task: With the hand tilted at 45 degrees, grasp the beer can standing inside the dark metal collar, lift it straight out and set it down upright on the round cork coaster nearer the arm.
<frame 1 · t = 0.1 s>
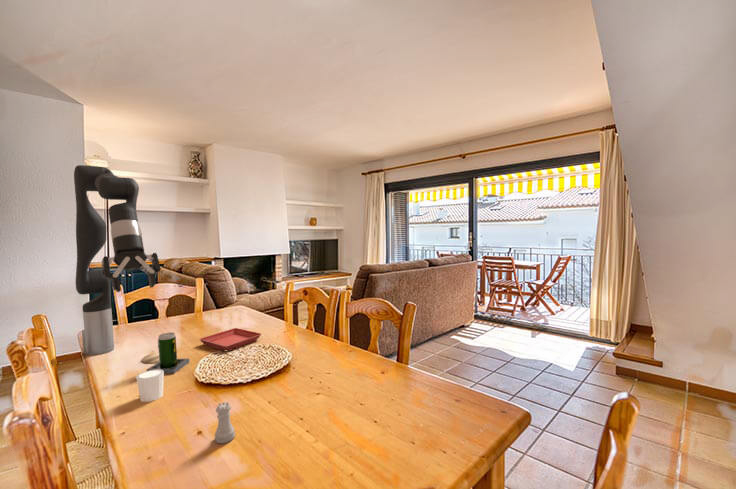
hand: (135, 289, 104), 31 cm above the table, tool tilted 20°, fingers open, 8 cm apart
coaster: (159, 357, 134), on the table
plant saucer: (231, 344, 149), on the table
white tapered cylinder: (151, 397, 103), on the table
collar: (168, 368, 124), on the table
rook chess piece: (225, 439, 81), on the table
beer can: (168, 368, 124), resting in collar
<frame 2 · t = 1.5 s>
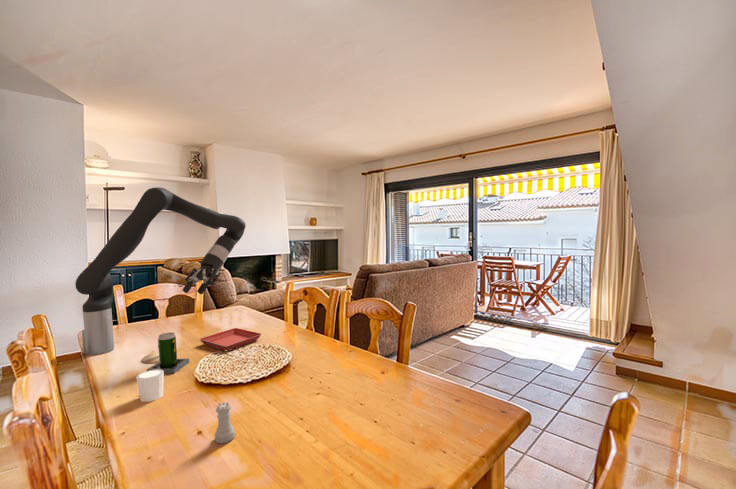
hand: (191, 292, 132), 25 cm above the table, tool tilted 45°, fingers open, 8 cm apart
nothing on the table moved.
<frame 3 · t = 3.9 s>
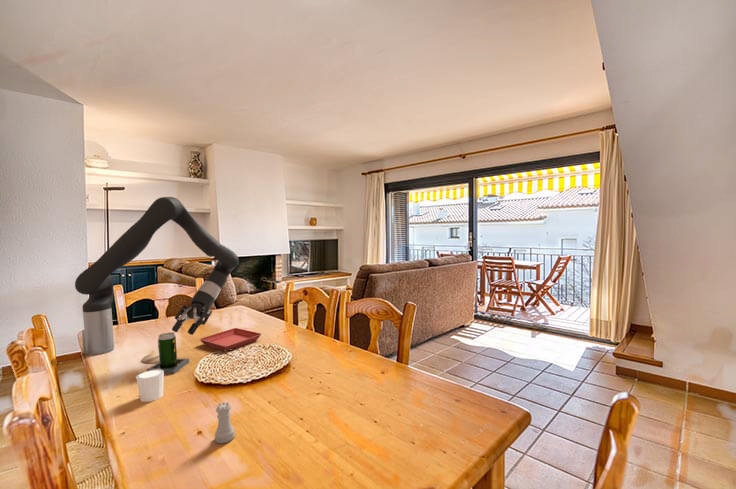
hand: (181, 332, 129), 11 cm above the table, tool tilted 45°, fingers open, 8 cm apart
nothing on the table moved.
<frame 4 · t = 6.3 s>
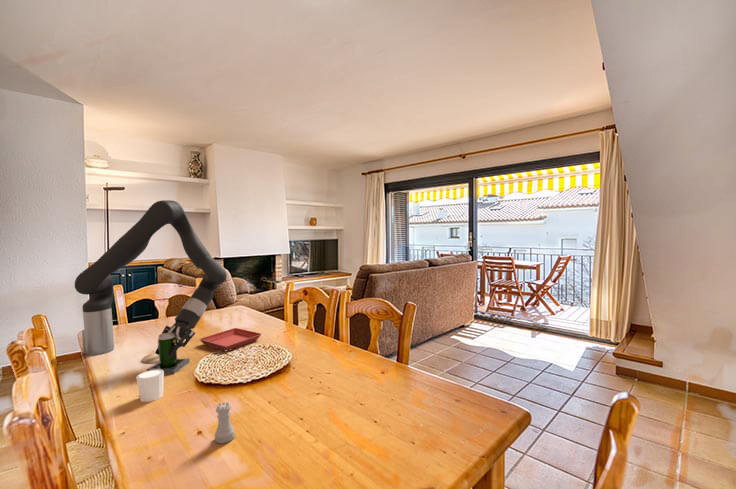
hand: (163, 355, 122), 5 cm above the table, tool tilted 45°, fingers closed on beer can, 5 cm apart
beer can: (168, 368, 124), resting in collar, touching gripper
everything else where it was.
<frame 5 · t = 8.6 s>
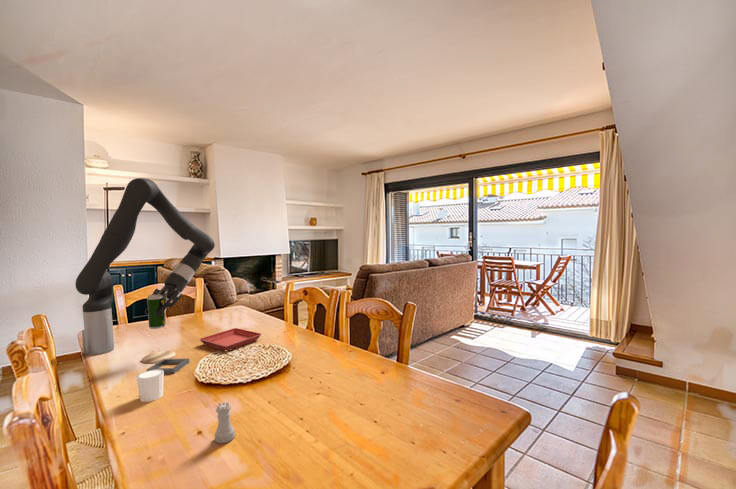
hand: (151, 314, 130), 18 cm above the table, tool tilted 45°, fingers closed on beer can, 5 cm apart
beer can: (157, 327, 132), point 12 cm above the table, touching gripper
everything else where it was.
when the fingers open (7 cm above the table, at t = 11.4 s): beer can drops 1 cm, resting on coaster.
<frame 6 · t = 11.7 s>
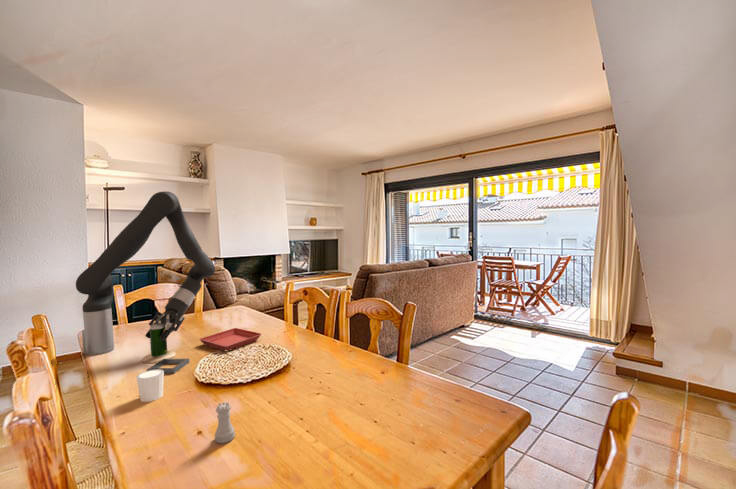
hand: (154, 338, 133), 8 cm above the table, tool tilted 45°, fingers open, 8 cm apart
beer can: (159, 356, 135), resting on coaster
everything else where it was.
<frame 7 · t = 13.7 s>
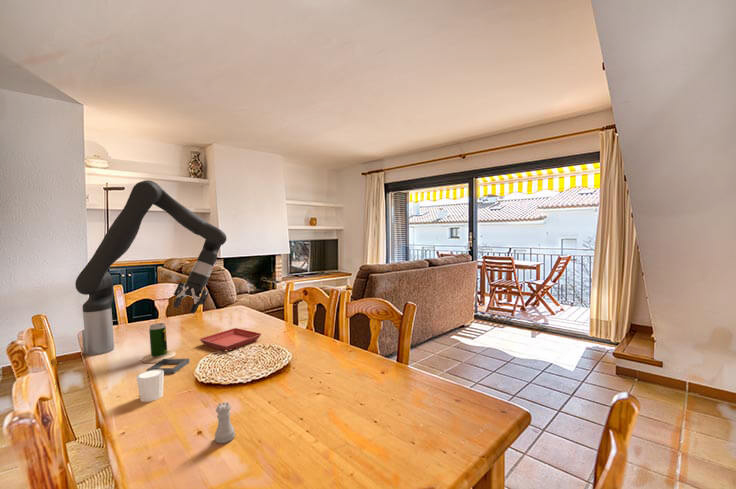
hand: (183, 310, 145), 15 cm above the table, tool tilted 25°, fingers open, 8 cm apart
nothing on the table moved.
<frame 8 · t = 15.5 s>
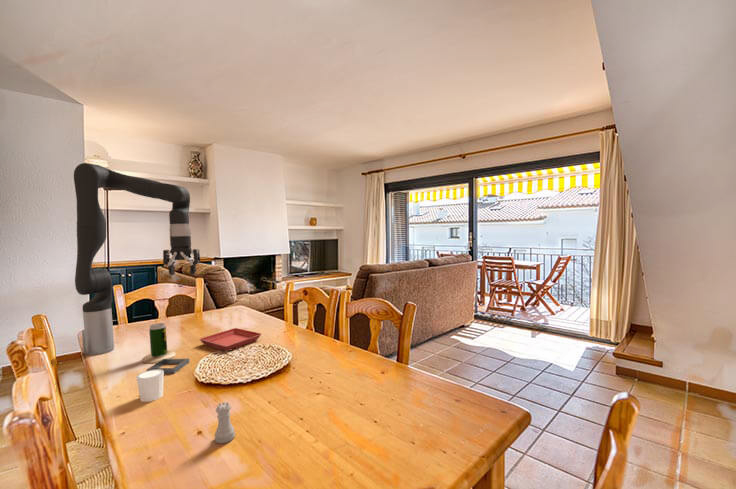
hand: (182, 274, 144), 30 cm above the table, tool pointing down, fingers open, 8 cm apart
nothing on the table moved.
at the end: beer can 0.3 cm from the coaster (horizontally); beer can tilted 0°; the gripper is holding nothing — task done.
